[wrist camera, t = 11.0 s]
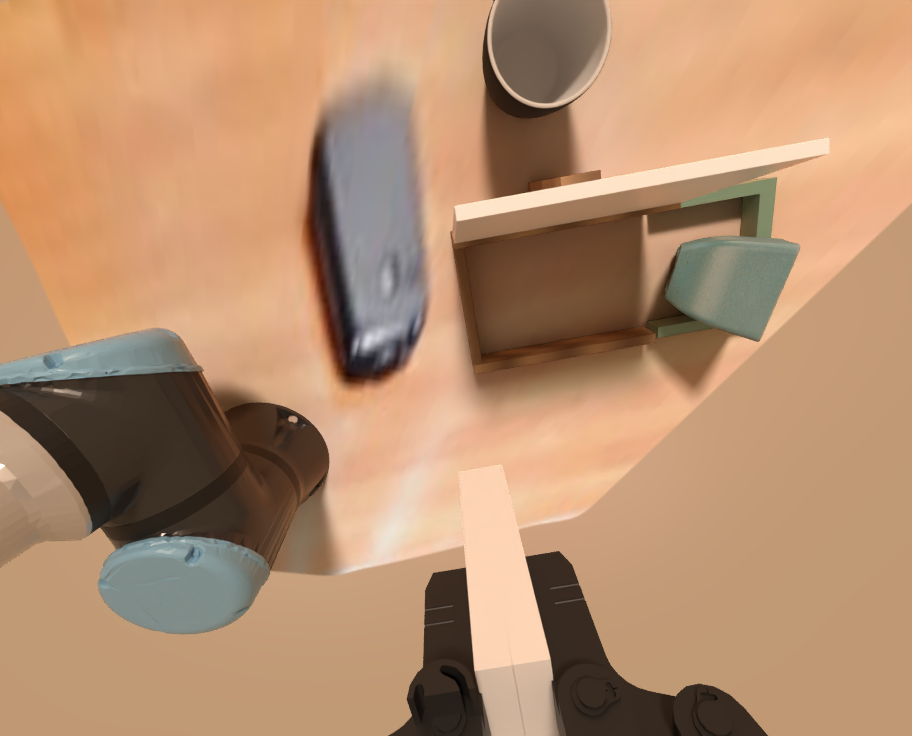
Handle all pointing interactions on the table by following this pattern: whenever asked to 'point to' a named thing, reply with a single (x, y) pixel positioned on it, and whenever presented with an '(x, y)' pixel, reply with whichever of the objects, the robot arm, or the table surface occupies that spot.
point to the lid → (623, 192)
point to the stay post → (564, 181)
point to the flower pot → (731, 281)
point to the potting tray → (753, 224)
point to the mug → (544, 52)
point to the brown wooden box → (554, 348)
